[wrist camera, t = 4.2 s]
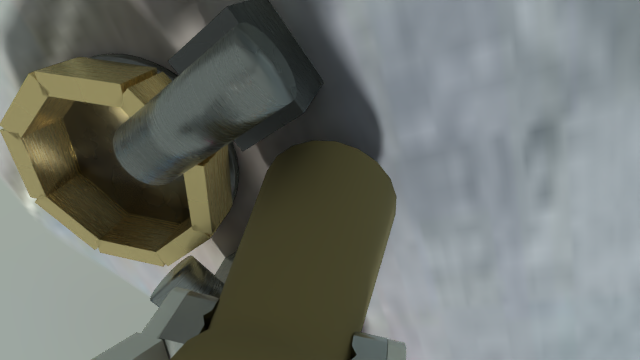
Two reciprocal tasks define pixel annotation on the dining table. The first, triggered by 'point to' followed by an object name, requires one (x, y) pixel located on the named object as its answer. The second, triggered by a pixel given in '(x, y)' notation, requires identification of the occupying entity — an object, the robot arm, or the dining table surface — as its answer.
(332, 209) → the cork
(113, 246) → the coupling collar
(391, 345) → the robot arm
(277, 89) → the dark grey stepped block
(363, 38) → the dining table surface
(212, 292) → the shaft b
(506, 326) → the dining table surface
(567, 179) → the dining table surface
